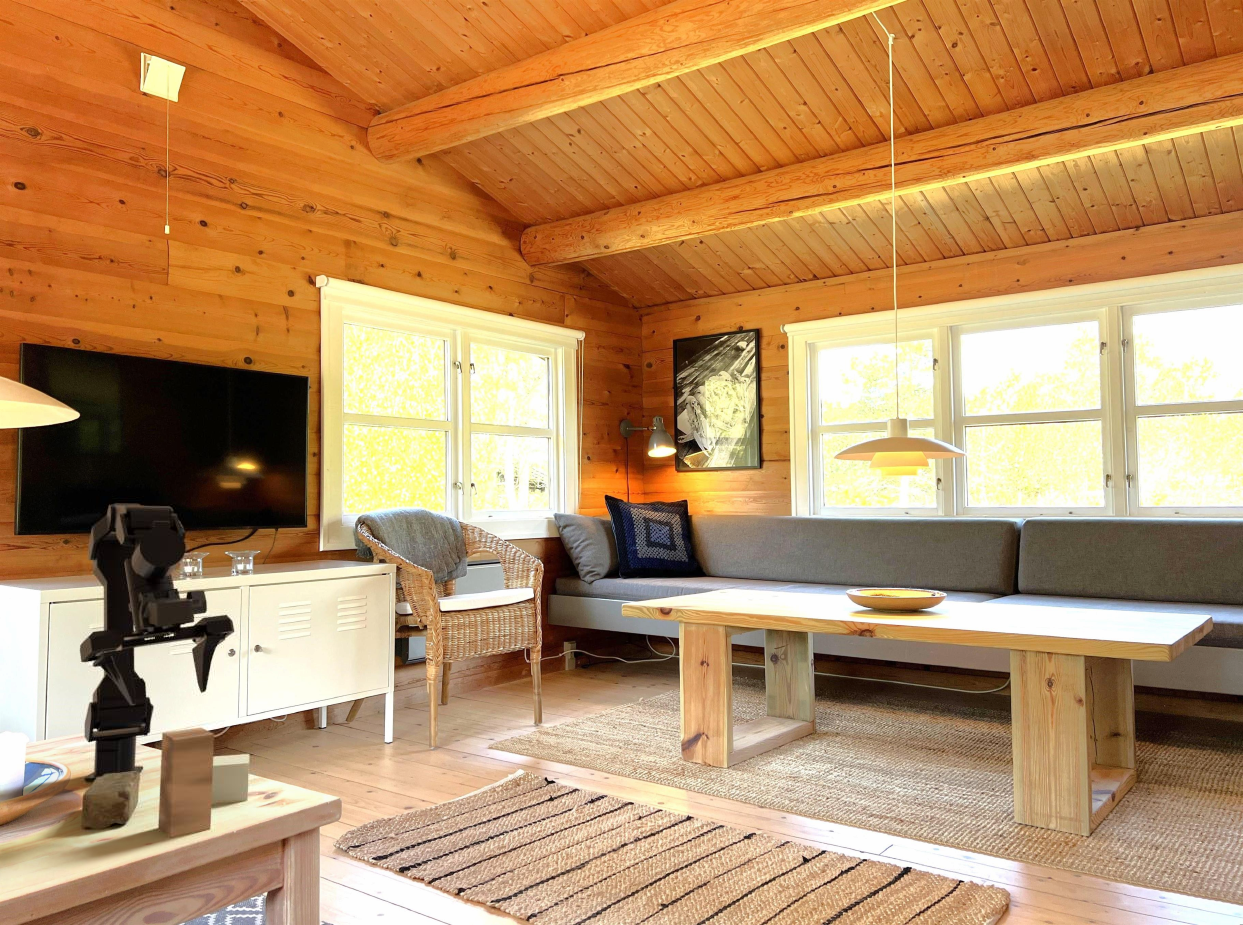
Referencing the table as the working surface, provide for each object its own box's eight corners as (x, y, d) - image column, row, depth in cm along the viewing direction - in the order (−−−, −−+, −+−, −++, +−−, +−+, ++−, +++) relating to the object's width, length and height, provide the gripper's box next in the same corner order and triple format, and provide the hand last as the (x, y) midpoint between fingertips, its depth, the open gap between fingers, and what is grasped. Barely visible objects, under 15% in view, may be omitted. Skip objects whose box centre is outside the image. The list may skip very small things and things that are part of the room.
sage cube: (208, 794, 140) (210, 756, 140) (248, 790, 142) (249, 754, 142) (206, 804, 135) (208, 766, 135) (247, 801, 137) (248, 763, 137)
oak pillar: (158, 827, 124) (162, 732, 125) (197, 819, 128) (201, 727, 129) (170, 837, 121) (174, 739, 121) (210, 829, 124) (214, 734, 125)
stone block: (140, 803, 135) (141, 768, 135) (128, 829, 124) (130, 791, 125) (94, 806, 133) (96, 771, 133) (79, 833, 122) (80, 795, 123)
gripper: (95, 578, 120) (112, 697, 116) (239, 565, 134) (259, 671, 129) (72, 604, 127) (87, 717, 123) (210, 589, 141) (228, 690, 137)
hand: (169, 698), depth 128 cm, fingers open, 9 cm apart
